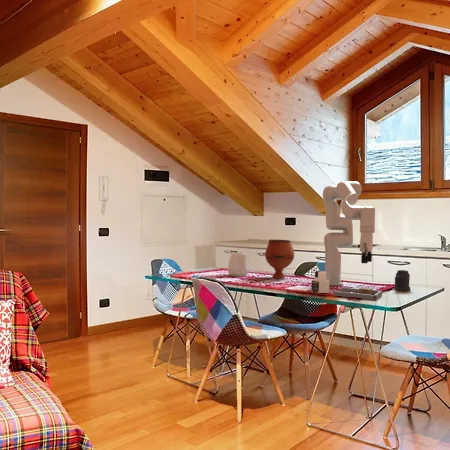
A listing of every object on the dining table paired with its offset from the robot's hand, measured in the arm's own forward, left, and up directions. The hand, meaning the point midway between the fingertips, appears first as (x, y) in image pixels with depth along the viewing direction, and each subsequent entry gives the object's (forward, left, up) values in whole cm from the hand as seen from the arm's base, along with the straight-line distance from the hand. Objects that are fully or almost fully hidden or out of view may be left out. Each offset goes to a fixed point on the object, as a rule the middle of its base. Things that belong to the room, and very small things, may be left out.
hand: (366, 262), depth 263 cm
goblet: (-65, +39, -18) cm, 78 cm away
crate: (0, 0, -18) cm, 18 cm away
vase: (-92, +33, -19) cm, 100 cm away
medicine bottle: (-24, -2, -18) cm, 30 cm away
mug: (+13, +32, -19) cm, 39 cm away
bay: (-4, 0, -18) cm, 19 cm away
